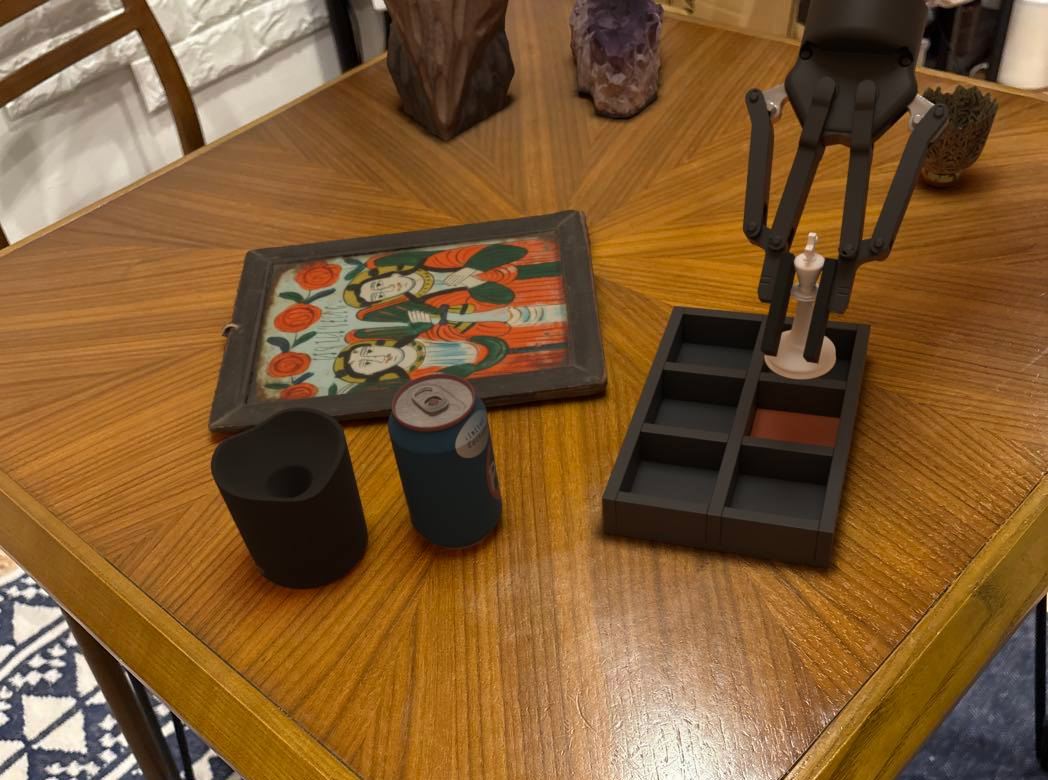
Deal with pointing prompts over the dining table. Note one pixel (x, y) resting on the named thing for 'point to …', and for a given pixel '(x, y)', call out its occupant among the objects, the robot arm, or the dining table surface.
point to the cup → (959, 134)
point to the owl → (449, 61)
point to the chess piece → (803, 322)
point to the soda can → (445, 460)
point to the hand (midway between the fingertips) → (789, 356)
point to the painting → (413, 320)
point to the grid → (737, 442)
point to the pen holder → (294, 497)
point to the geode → (617, 53)
